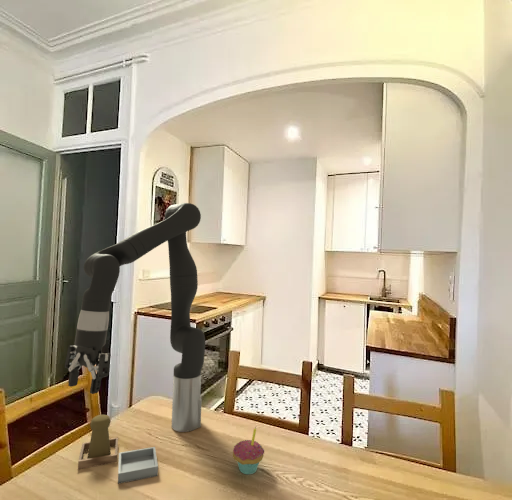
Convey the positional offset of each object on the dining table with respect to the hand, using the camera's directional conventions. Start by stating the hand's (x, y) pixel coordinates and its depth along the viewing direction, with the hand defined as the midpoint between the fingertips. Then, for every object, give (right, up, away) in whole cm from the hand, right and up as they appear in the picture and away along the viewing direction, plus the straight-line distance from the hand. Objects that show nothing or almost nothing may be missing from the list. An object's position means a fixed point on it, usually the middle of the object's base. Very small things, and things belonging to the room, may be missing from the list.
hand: (83, 389), depth 89 cm
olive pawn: (+1, -22, +6) cm, 23 cm away
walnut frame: (+1, -22, +6) cm, 22 cm away
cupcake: (+43, -23, +2) cm, 49 cm away
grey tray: (+14, -22, +1) cm, 26 cm away
